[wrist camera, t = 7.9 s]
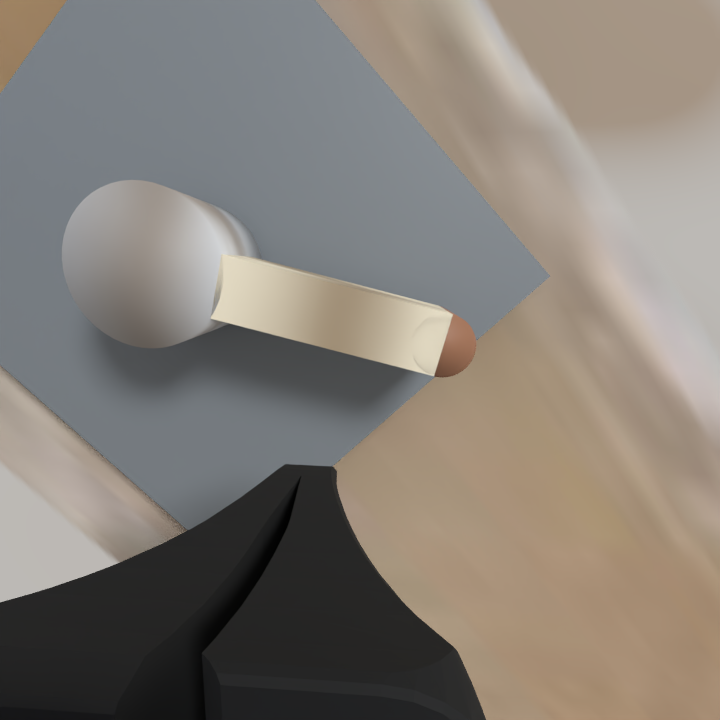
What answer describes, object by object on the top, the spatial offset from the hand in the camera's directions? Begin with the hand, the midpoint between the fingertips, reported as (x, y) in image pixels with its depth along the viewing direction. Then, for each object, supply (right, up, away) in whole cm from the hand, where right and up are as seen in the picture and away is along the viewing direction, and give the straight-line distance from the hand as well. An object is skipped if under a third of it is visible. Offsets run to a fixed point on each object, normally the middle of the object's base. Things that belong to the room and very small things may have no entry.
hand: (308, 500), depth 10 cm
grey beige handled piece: (-1, +6, +6) cm, 9 cm away
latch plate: (-5, +8, +8) cm, 12 cm away
